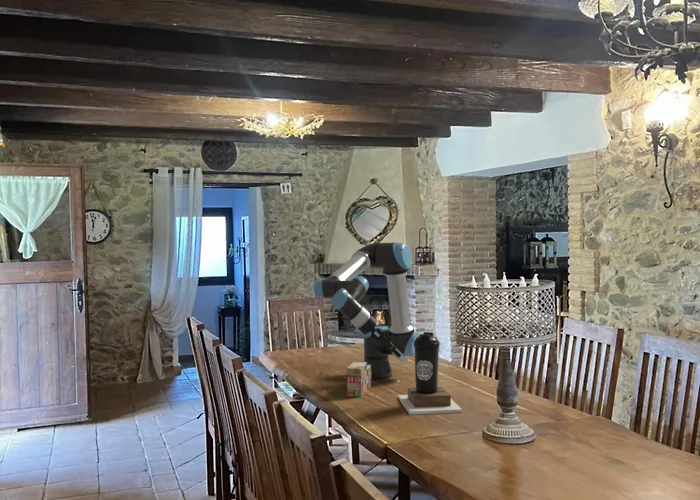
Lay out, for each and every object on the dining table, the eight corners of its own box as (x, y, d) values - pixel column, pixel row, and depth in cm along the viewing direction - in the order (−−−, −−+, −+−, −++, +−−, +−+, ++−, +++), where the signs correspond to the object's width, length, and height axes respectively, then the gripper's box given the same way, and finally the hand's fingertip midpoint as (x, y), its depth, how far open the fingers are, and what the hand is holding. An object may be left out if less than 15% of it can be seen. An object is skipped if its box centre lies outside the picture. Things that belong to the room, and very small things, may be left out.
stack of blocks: (358, 384, 285) (357, 357, 285) (371, 385, 284) (371, 358, 284) (346, 396, 264) (346, 367, 264) (361, 397, 263) (361, 368, 263)
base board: (398, 398, 261) (398, 395, 261) (445, 396, 263) (445, 393, 263) (409, 414, 237) (409, 411, 237) (461, 412, 239) (461, 409, 239)
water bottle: (410, 393, 248) (410, 334, 247) (417, 387, 257) (417, 330, 257) (436, 395, 244) (436, 336, 244) (441, 389, 254) (442, 332, 253)
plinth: (407, 398, 256) (407, 388, 256) (441, 396, 258) (441, 387, 258) (414, 407, 242) (414, 397, 242) (450, 406, 244) (450, 395, 244)
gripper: (353, 323, 259) (390, 359, 261) (361, 333, 234) (401, 372, 236) (366, 310, 259) (402, 346, 261) (375, 318, 234) (415, 357, 236)
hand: (402, 358), depth 249 cm, fingers open, 13 cm apart
